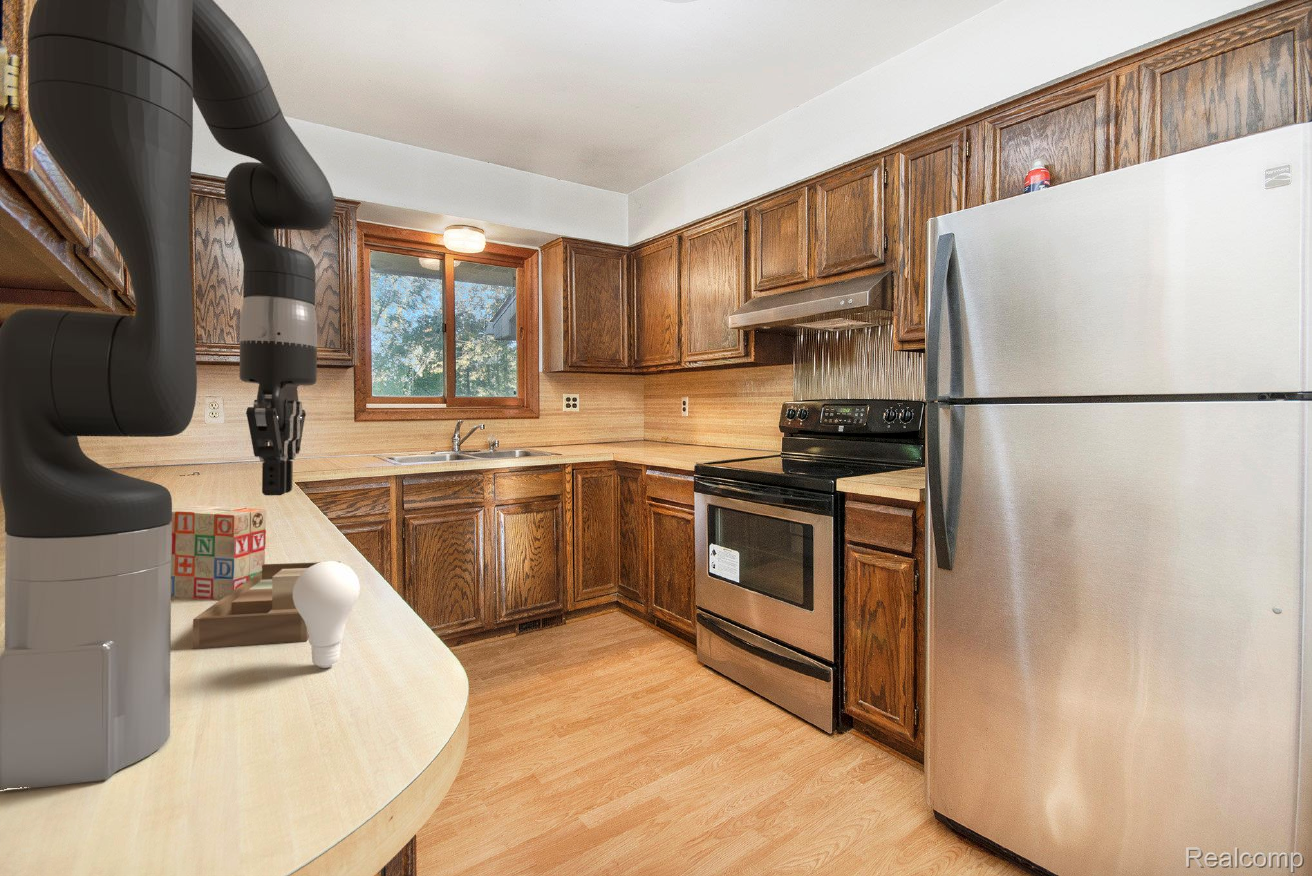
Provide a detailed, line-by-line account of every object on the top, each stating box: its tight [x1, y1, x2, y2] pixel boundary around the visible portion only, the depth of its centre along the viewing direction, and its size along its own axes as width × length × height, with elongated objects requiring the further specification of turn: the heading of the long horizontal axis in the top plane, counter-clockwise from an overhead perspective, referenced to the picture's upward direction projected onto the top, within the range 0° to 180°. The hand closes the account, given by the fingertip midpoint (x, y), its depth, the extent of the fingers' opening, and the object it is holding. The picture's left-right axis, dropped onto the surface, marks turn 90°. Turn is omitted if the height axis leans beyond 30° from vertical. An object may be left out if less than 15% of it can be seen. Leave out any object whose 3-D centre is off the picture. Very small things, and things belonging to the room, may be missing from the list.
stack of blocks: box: [171, 504, 267, 601], centre depth 90 cm, size 21×6×12 cm, turn 85°
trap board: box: [192, 561, 341, 650], centre depth 80 cm, size 21×11×4 cm, turn 16°
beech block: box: [272, 568, 308, 610], centre depth 77 cm, size 4×4×4 cm
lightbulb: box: [293, 560, 361, 669], centre depth 64 cm, size 6×6×11 cm
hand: (277, 493), depth 71 cm, fingers closed
